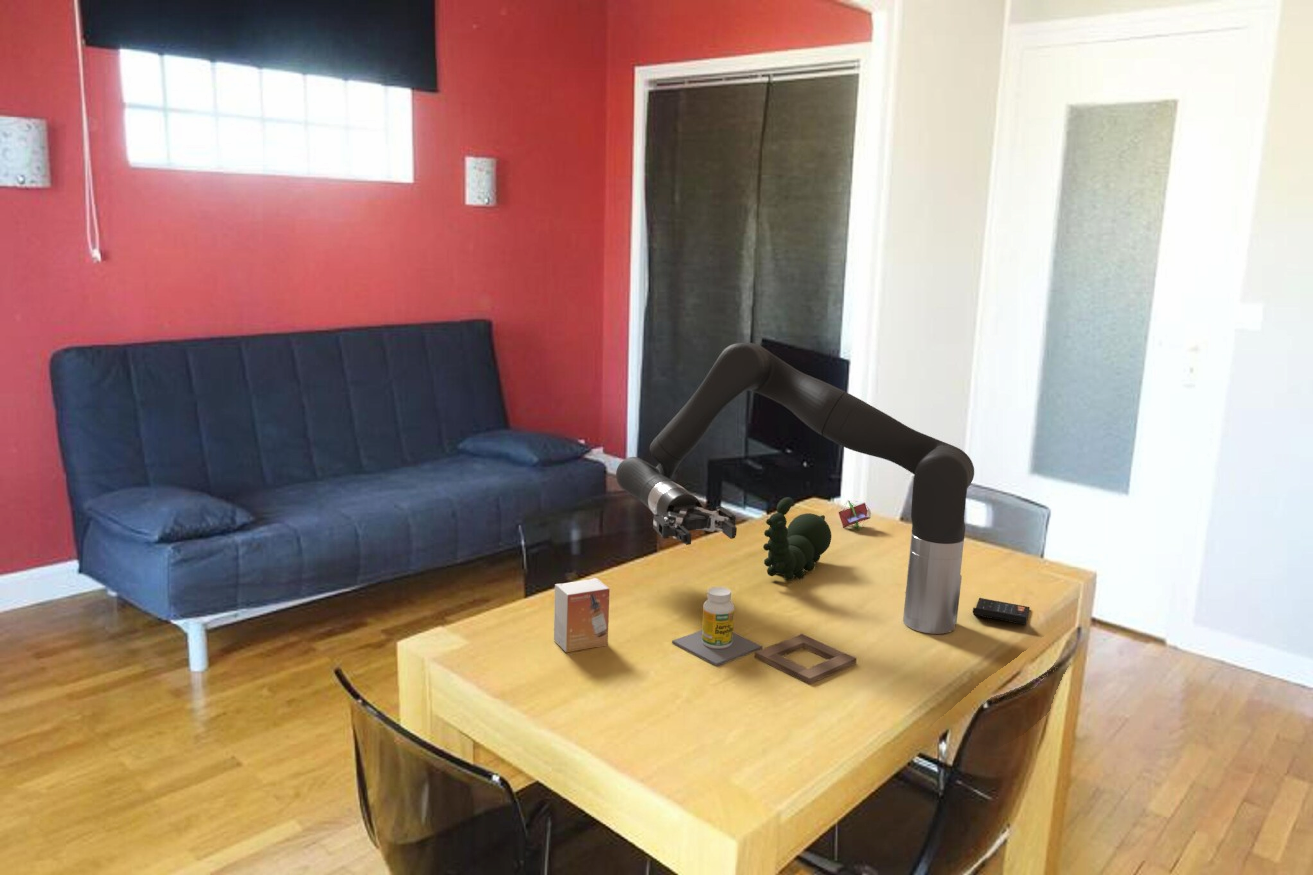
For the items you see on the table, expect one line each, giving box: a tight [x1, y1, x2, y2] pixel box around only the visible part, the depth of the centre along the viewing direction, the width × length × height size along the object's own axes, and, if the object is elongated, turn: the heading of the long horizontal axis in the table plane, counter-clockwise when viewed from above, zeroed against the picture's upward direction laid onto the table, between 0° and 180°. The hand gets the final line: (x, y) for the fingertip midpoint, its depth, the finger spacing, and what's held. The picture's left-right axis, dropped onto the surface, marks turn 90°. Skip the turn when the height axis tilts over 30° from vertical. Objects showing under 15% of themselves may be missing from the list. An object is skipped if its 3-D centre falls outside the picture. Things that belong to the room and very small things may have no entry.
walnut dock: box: [754, 633, 857, 685], centre depth 167 cm, size 12×12×1 cm
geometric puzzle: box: [837, 500, 872, 531], centre depth 236 cm, size 7×7×8 cm
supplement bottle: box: [701, 586, 735, 649], centre depth 170 cm, size 5×5×10 cm
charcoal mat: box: [671, 629, 763, 667], centre depth 171 cm, size 11×11×1 cm
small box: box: [553, 577, 610, 653], centre depth 169 cm, size 8×6×10 cm
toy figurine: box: [762, 496, 832, 581], centre depth 206 cm, size 9×19×25 cm
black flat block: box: [972, 597, 1031, 625], centre depth 188 cm, size 9×12×3 cm
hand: (711, 536), depth 172 cm, fingers open, 8 cm apart
